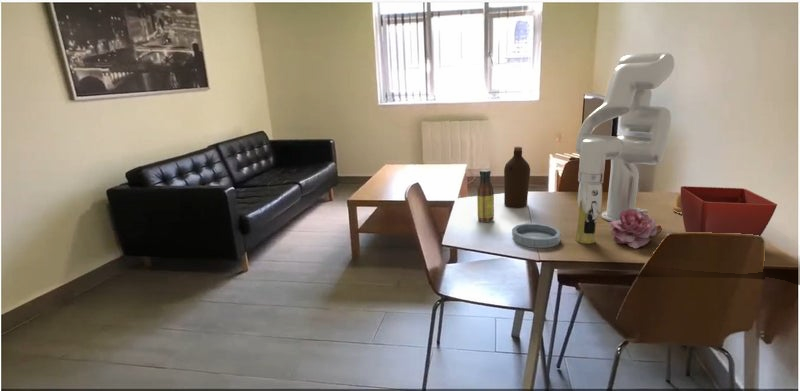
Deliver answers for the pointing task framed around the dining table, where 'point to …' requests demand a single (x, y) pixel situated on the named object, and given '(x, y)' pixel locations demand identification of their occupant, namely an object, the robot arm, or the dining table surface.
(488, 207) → the sauce bottle
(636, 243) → the flower
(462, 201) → the dining table surface
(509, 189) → the olive oil
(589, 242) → the vase
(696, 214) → the plant pot
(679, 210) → the ornamental finial
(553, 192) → the dining table surface
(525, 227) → the round tray
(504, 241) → the dining table surface
